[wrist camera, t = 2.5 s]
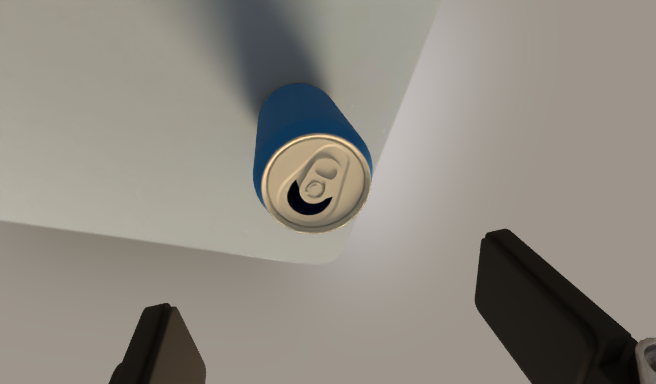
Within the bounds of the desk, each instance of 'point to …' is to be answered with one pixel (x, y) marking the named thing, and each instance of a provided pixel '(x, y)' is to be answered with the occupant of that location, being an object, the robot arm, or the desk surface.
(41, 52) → the desk surface
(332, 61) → the desk surface
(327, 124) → the beverage can
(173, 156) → the desk surface
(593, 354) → the robot arm
